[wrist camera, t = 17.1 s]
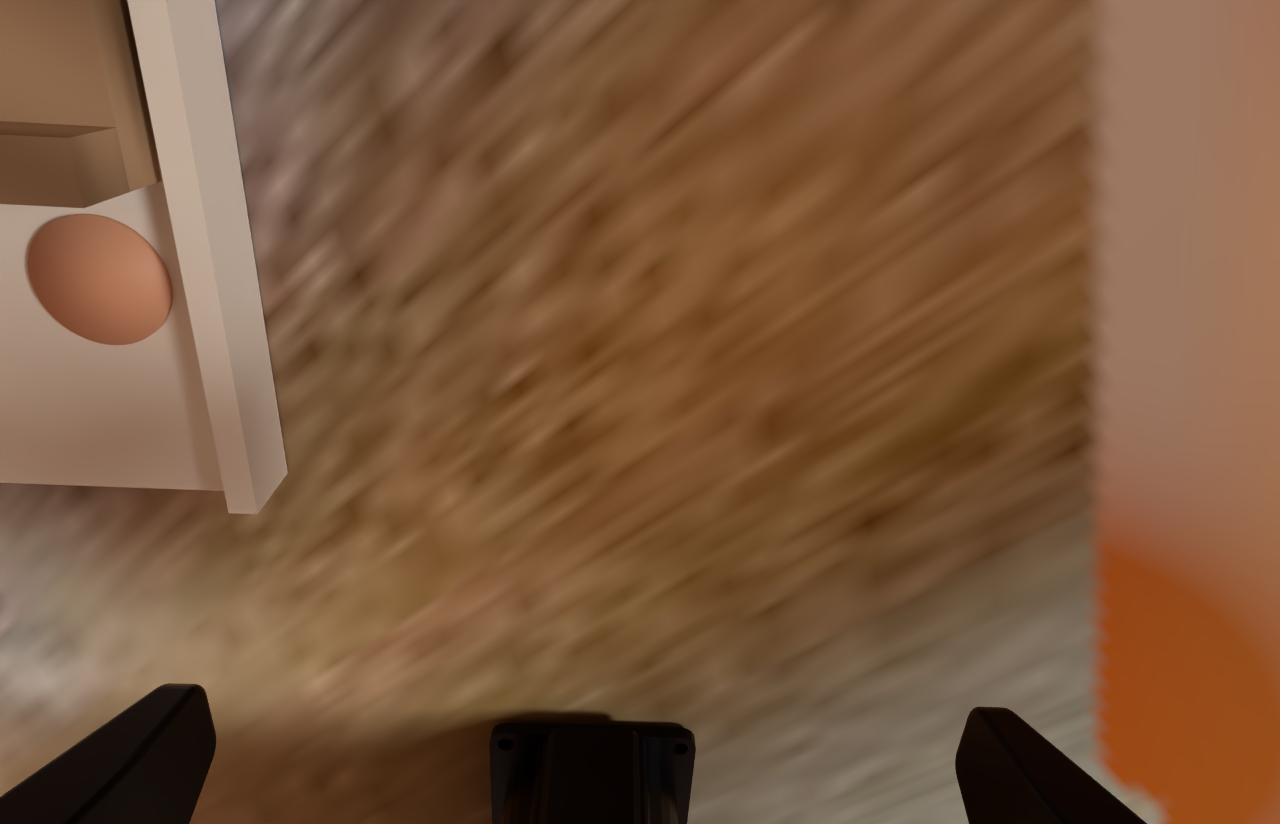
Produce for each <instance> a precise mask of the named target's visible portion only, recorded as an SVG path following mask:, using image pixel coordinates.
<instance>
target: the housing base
mask: <svg viewBox="0 0 1280 824" xmlns="http://www.w3.org/2000/svg"><path fill="white" fill-rule="evenodd" d="M126 3H127V8H128V14H129V19H130V24H131V29H132V34H133V39H134V44H135V49H136V54H137V59H138V64H139V69H140V74H141V79H142V84H143V89H144V94H145V99H146V104H147V110H148V115H149V120H150V125H151V130H152V135H153V140H154V145H155V150H156V155H157V160H158V165H159V170H160V175H161V180H162V181H160V182H157V183H154V184H151V185H148V186H146V187H143V188H140V189H137V190H134V191H132V192H129V193H126V194H123V195H120V196H117V197H115V198H112V199H109V200H106V201H103V202H100V203H98V204H95V205H92V206H89V207H86V208H69V207H49V206H30V205H10V204H0V483H25V484H51V485H78V486H104V487H131V488H157V489H184V490H210V491H224V493H225V498H226V503H227V508H228V513H235V514H258V513H259V512H260V510H261V509H262V508H263V506H264V505H265V503H266V502H267V501H268V499H269V498H270V497H271V495H272V494H273V493H274V491H275V490H276V489H277V487H278V486H279V484H280V483H281V482H282V480H283V479H284V478H285V476H286V475H287V474H288V471H287V465H286V458H285V452H284V445H283V439H282V433H281V426H280V420H279V413H278V407H277V400H276V394H275V388H274V381H273V375H272V368H271V362H270V355H269V349H268V342H267V336H266V330H265V323H264V317H263V310H262V304H261V297H260V291H259V284H258V278H257V272H256V265H255V259H254V252H253V246H252V239H251V233H250V226H249V220H248V214H247V207H246V201H245V194H244V188H243V181H242V175H241V169H240V162H239V156H238V149H237V143H236V136H235V130H234V123H233V117H232V111H231V104H230V98H229V91H228V85H227V78H226V72H225V65H224V59H223V53H222V46H221V40H220V33H219V27H218V20H217V14H216V8H215V1H214V0H126Z"/></svg>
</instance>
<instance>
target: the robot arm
mask: <svg viewBox="0 0 1280 824" xmlns="http://www.w3.org/2000/svg"><path fill="white" fill-rule="evenodd" d="M504 739H510V740H504ZM679 743H682V744H681V745H677V744H679ZM215 748H216V733H215V728H214V724H213V720H212V716H211V712H210V708H209V703H208V699H207V695H206V692H205V690H204V689H203V688H202V687H201V686H200V685H197V684H164V685H162V686H160V687H158V688H156V689H155V690H153V691H152V692H150V693H149V694H148V695H146V696H145V697H143V698H142V699H140V700H139V701H137V702H136V703H135V704H133V705H132V706H130V707H129V708H127V709H126V710H125V711H123V712H122V713H120V714H119V715H117V716H116V717H114V718H113V719H112V720H110V721H109V722H107V723H106V724H104V725H103V726H102V727H100V728H99V729H97V730H96V731H94V732H93V733H91V734H90V735H89V736H87V737H86V738H84V739H83V740H81V741H80V742H79V743H77V744H76V745H74V746H73V747H71V748H70V749H69V750H67V751H66V752H64V753H63V754H61V755H60V756H58V757H57V758H56V759H54V760H53V761H51V762H50V763H48V764H47V765H46V766H44V767H43V768H41V769H40V770H38V771H37V772H35V773H34V774H33V775H31V776H30V777H28V778H27V779H25V780H24V781H23V782H21V783H20V784H18V785H17V786H15V787H14V788H12V789H11V790H10V791H8V792H7V793H5V794H4V795H2V796H1V797H0V824H189V823H190V820H191V817H192V814H193V812H194V809H195V806H196V803H197V801H198V798H199V795H200V792H201V790H202V787H203V784H204V781H205V779H206V776H207V773H208V770H209V768H210V765H211V762H212V760H213V756H214V753H215ZM695 751H696V748H695V738H694V734H693V733H692V732H691V731H690V730H688V729H685V728H673V727H636V726H599V725H561V724H524V723H503V724H500V725H497V726H496V727H495V728H494V729H493V731H492V735H491V740H490V765H491V793H492V822H493V824H687V818H688V810H689V801H690V793H691V785H692V776H693V768H694V759H695ZM955 767H956V775H957V779H958V783H959V787H960V791H961V794H962V798H963V802H964V806H965V810H966V814H967V817H968V821H969V824H1147V823H1146V822H1145V821H1143V820H1142V819H1141V818H1140V817H1139V816H1137V815H1136V814H1135V813H1134V812H1133V811H1131V810H1130V809H1129V808H1128V807H1127V806H1125V805H1124V804H1123V803H1122V802H1121V801H1119V800H1118V799H1117V798H1116V797H1115V796H1113V795H1112V794H1111V793H1110V792H1109V791H1107V790H1106V789H1105V788H1104V787H1103V786H1101V785H1100V784H1099V783H1098V782H1097V781H1096V780H1094V779H1093V778H1092V777H1091V776H1090V775H1088V774H1087V773H1086V772H1085V771H1084V770H1082V769H1081V768H1080V767H1079V766H1078V765H1076V764H1075V763H1074V762H1073V761H1072V760H1070V759H1069V758H1068V757H1067V756H1066V755H1064V754H1063V753H1062V752H1061V751H1060V750H1058V749H1057V748H1056V747H1055V746H1054V745H1052V744H1051V743H1050V742H1049V741H1048V740H1047V739H1045V738H1044V737H1043V736H1042V735H1041V734H1039V733H1038V732H1037V731H1036V730H1035V729H1033V728H1032V727H1031V726H1030V725H1029V724H1027V723H1026V722H1025V721H1024V720H1023V719H1021V718H1020V717H1019V716H1018V715H1017V714H1015V713H1014V712H1013V711H1011V710H1009V709H1007V708H1000V707H976V708H974V709H973V710H972V711H971V712H970V714H969V716H968V719H967V722H966V725H965V728H964V731H963V734H962V737H961V741H960V744H959V747H958V750H957V754H956V760H955Z"/></svg>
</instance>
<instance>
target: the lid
mask: <svg viewBox="0 0 1280 824" xmlns="http://www.w3.org/2000/svg"><path fill="white" fill-rule="evenodd" d="M160 181H162V180H161V175H160V170H159V165H158V160H157V155H156V150H155V145H154V140H153V135H152V130H151V125H150V120H149V115H148V110H147V104H146V99H145V94H144V89H143V84H142V79H141V74H140V69H139V64H138V59H137V54H136V49H135V44H134V39H133V34H132V29H131V24H130V19H129V14H128V8H127V3H126V0H0V204H10V205H30V206H49V207H69V208H86V207H89V206H92V205H95V204H98V203H100V202H103V201H106V200H109V199H112V198H115V197H117V196H120V195H123V194H126V193H129V192H132V191H134V190H137V189H140V188H143V187H146V186H148V185H151V184H154V183H157V182H160Z"/></svg>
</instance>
